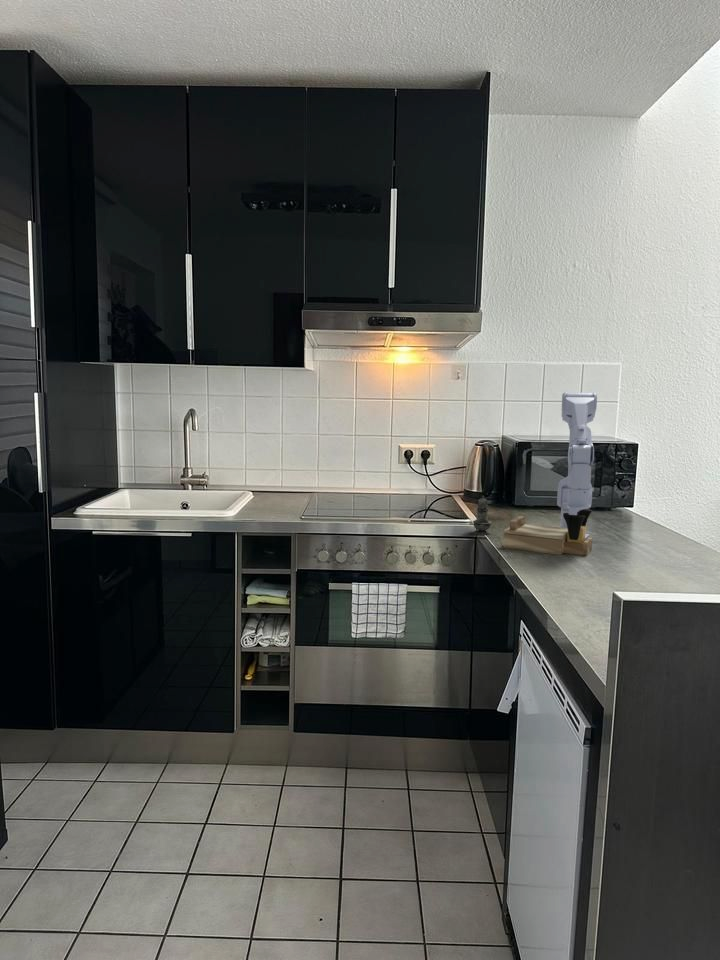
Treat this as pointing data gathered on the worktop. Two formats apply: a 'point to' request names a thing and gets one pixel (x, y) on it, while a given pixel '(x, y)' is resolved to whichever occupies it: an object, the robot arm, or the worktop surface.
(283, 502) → the worktop surface
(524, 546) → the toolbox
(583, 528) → the yellow block
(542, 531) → the lid
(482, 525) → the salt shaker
